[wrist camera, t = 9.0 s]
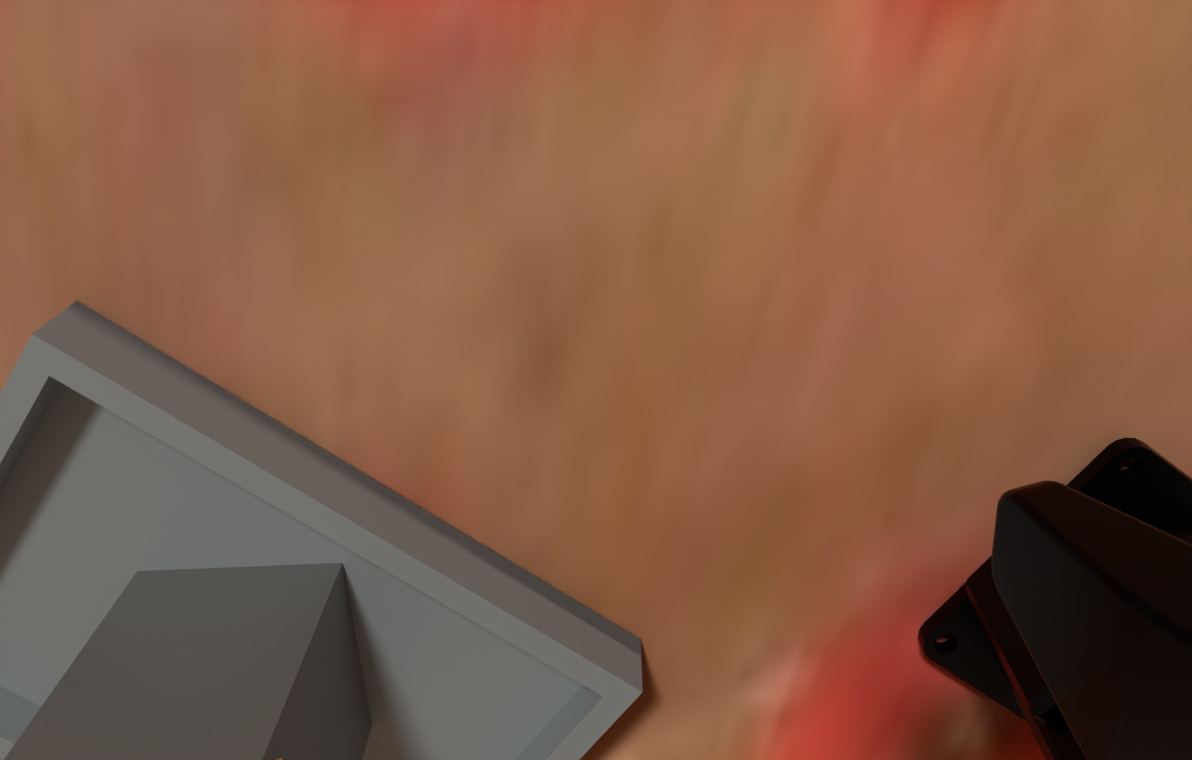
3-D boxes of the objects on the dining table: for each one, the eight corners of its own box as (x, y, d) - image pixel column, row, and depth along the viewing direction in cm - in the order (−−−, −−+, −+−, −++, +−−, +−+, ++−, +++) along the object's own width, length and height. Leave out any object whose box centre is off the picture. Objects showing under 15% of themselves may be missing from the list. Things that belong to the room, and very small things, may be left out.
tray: (640, 639, 25) (642, 692, 23) (411, 890, 28) (399, 952, 26) (76, 300, 21) (31, 334, 20) (-105, 631, 25) (-156, 682, 23)
